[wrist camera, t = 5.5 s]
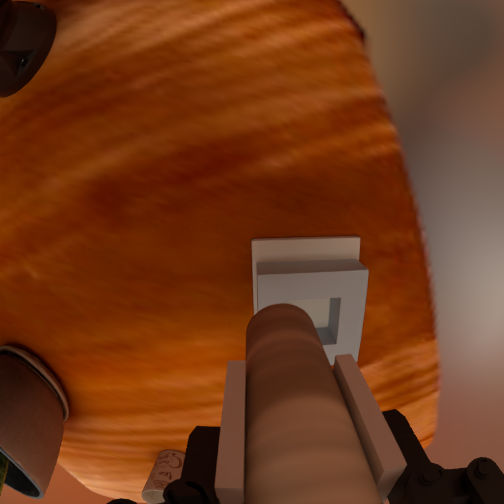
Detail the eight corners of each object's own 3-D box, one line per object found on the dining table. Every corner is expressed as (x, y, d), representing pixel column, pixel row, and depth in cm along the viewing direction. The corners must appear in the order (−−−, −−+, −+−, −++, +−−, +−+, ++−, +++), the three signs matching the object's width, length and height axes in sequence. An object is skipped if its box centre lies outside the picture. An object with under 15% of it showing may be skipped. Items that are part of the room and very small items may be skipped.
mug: (198, 449, 42) (191, 496, 32) (199, 483, 45) (194, 523, 35) (150, 441, 42) (137, 485, 32) (157, 476, 45) (148, 514, 35)
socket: (251, 238, 33) (252, 250, 28) (357, 235, 33) (374, 246, 28) (255, 361, 37) (256, 386, 32) (346, 354, 37) (357, 377, 32)
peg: (244, 304, 17) (234, 645, 1) (316, 301, 17) (446, 599, 1) (247, 363, 18) (245, 639, 2) (312, 360, 18) (385, 618, 2)
